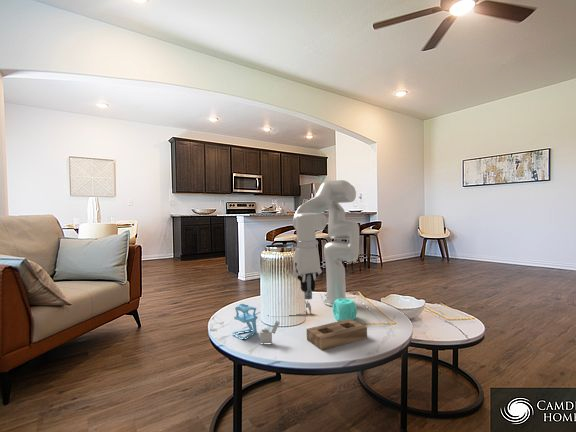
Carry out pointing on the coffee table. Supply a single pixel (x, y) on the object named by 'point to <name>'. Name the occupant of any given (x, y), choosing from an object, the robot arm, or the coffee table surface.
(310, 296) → the peg
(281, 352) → the coffee table surface
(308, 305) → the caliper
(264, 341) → the lighter
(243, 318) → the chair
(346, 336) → the hole block
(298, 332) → the coffee table surface
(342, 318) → the decorative dice
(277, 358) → the coffee table surface
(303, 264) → the robot arm
